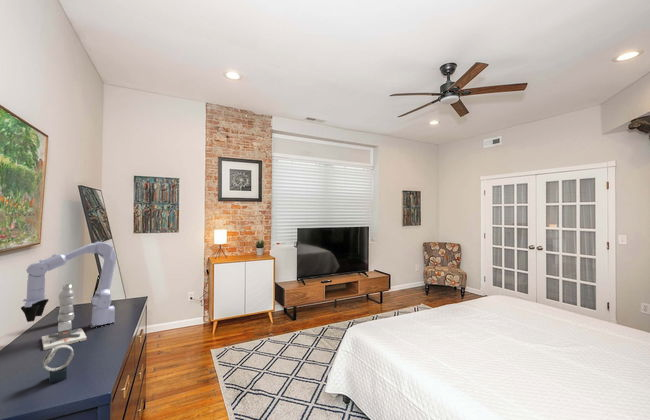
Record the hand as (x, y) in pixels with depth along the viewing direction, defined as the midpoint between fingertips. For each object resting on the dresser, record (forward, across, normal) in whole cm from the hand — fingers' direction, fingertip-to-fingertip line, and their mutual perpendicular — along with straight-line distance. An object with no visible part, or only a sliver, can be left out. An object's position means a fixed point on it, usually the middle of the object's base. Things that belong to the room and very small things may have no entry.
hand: (34, 318), depth 128 cm
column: (+9, +4, +12) cm, 15 cm away
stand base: (+10, +4, +12) cm, 16 cm away
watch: (+10, +44, +22) cm, 51 cm away
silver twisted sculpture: (+10, -24, +4) cm, 26 cm away
